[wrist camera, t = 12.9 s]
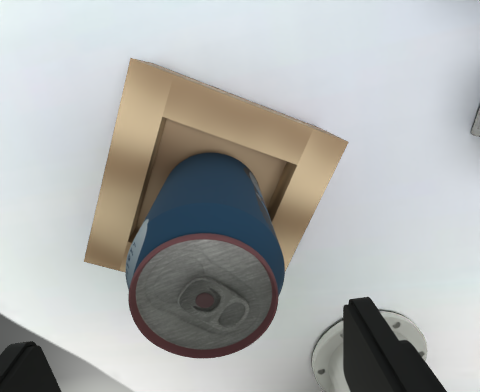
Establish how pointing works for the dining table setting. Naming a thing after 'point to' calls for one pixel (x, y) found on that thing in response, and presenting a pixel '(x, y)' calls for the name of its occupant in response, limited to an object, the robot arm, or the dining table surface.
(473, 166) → the dining table surface
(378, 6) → the dining table surface
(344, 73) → the dining table surface
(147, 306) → the soda can
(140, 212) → the square wooden tray
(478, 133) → the coffee box
